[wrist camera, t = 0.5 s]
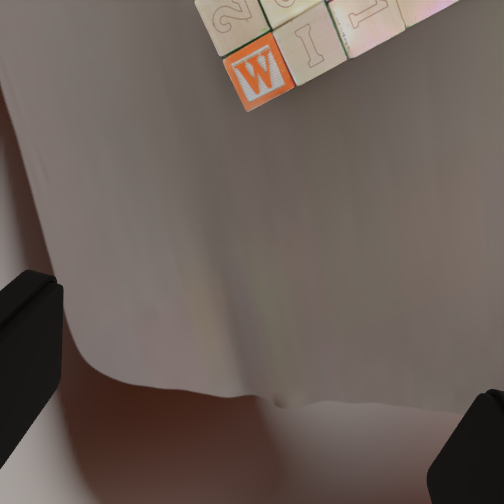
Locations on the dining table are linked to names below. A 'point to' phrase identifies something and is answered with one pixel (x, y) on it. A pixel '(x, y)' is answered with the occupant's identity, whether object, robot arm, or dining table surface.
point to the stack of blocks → (300, 37)
